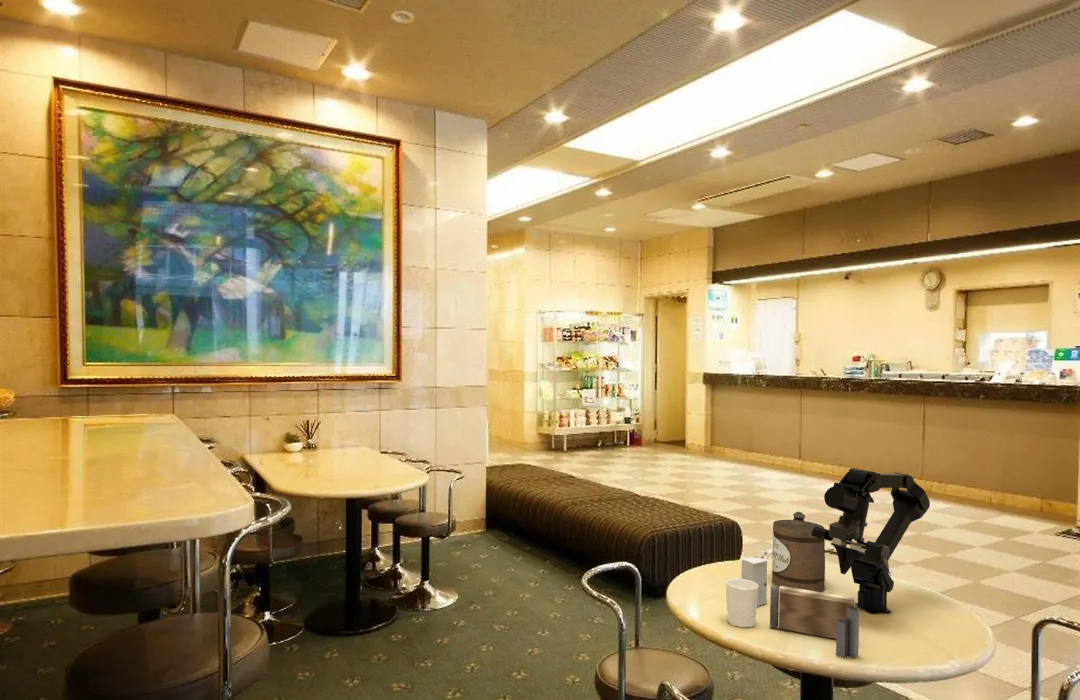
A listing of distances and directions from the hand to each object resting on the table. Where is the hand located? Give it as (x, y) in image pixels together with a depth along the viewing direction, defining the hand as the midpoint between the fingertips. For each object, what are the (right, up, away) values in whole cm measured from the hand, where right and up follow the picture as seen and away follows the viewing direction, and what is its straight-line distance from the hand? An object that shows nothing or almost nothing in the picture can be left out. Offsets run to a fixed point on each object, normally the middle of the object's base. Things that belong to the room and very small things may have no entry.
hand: (842, 573), depth 174 cm
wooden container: (-2, -12, +25) cm, 27 cm away
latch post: (-9, -11, -23) cm, 27 cm away
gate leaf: (-13, -11, -11) cm, 20 cm away
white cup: (-28, -11, -5) cm, 31 cm away
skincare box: (-21, -11, +9) cm, 25 cm away
